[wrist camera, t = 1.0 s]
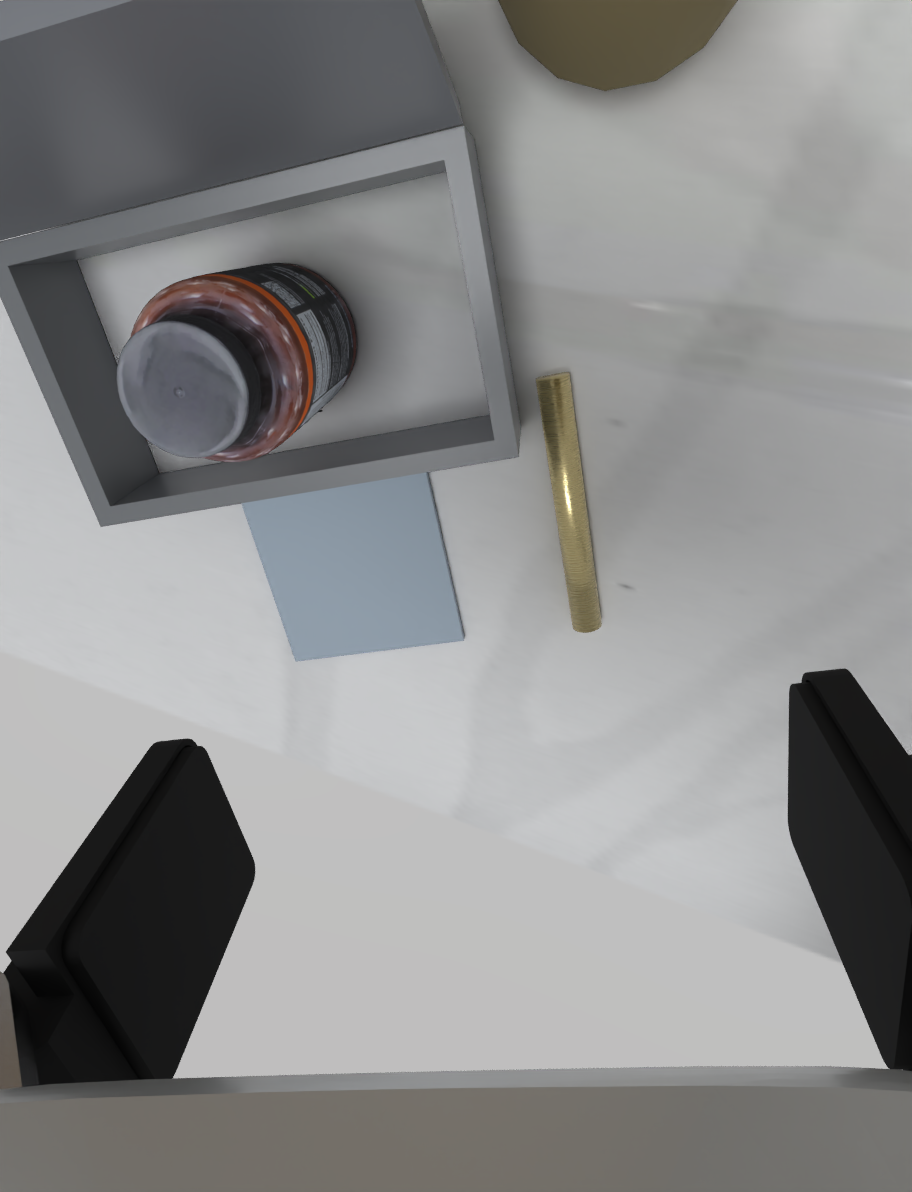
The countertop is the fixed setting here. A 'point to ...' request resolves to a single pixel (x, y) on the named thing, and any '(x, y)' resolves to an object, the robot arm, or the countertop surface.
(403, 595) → the mat
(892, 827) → the robot arm
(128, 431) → the case
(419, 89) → the lid
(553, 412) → the rod
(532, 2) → the squeeze bottle
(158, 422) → the supplement bottle
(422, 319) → the countertop surface
